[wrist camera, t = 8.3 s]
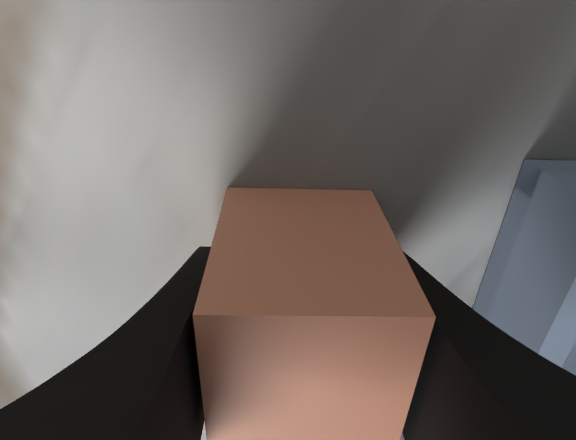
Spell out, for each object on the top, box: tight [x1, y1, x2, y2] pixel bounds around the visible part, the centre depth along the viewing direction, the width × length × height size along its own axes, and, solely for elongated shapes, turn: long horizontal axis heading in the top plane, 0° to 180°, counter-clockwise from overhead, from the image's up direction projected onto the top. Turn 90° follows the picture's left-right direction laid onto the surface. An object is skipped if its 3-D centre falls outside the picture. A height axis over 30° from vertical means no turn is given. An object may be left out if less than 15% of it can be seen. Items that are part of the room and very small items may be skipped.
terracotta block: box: [193, 187, 436, 440], centre depth 9 cm, size 4×4×5 cm
